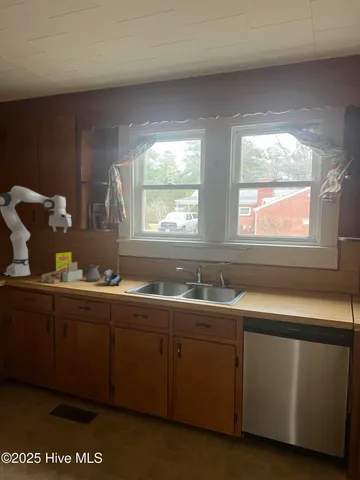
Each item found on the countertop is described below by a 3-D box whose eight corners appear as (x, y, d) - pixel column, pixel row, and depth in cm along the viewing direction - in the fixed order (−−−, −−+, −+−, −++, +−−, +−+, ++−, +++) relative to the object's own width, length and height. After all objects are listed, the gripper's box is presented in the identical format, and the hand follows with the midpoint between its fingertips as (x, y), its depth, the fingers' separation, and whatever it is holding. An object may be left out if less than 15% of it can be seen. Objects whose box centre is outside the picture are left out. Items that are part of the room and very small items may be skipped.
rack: (40, 282, 276) (40, 274, 275) (56, 277, 293) (56, 270, 292) (53, 283, 271) (53, 276, 270) (69, 279, 288) (69, 272, 288)
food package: (56, 276, 297) (56, 253, 295) (55, 276, 298) (55, 253, 296) (71, 274, 309) (71, 252, 307) (71, 274, 310) (70, 251, 308)
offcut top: (53, 278, 275) (53, 273, 274) (55, 275, 285) (55, 271, 284) (59, 277, 276) (59, 273, 275) (61, 275, 285) (61, 271, 285)
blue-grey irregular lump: (118, 286, 264) (109, 271, 261) (105, 291, 268) (96, 276, 265) (125, 277, 278) (116, 262, 274) (112, 282, 282) (104, 267, 278)
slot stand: (62, 281, 279) (62, 272, 278) (77, 277, 296) (77, 269, 296) (67, 282, 277) (67, 273, 277) (82, 277, 294) (82, 269, 294)
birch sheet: (67, 280, 282) (67, 263, 281) (76, 278, 292) (75, 261, 291) (69, 281, 281) (68, 263, 280) (77, 278, 292) (77, 262, 290)
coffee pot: (94, 282, 277) (94, 264, 275) (83, 281, 282) (83, 262, 280) (111, 278, 295) (111, 260, 294) (100, 276, 301) (100, 259, 299)
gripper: (46, 214, 282) (46, 231, 283) (67, 215, 275) (67, 233, 276) (52, 214, 288) (52, 231, 289) (72, 215, 280) (72, 232, 282)
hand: (59, 232), depth 282 cm, fingers open, 8 cm apart
